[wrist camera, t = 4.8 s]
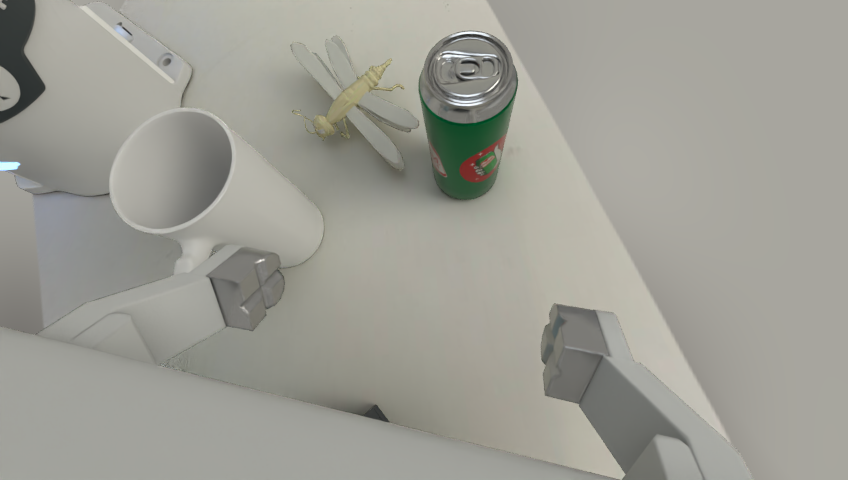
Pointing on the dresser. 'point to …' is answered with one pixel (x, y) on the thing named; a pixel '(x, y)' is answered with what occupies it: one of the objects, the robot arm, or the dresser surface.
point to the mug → (209, 191)
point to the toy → (355, 99)
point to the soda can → (467, 110)
